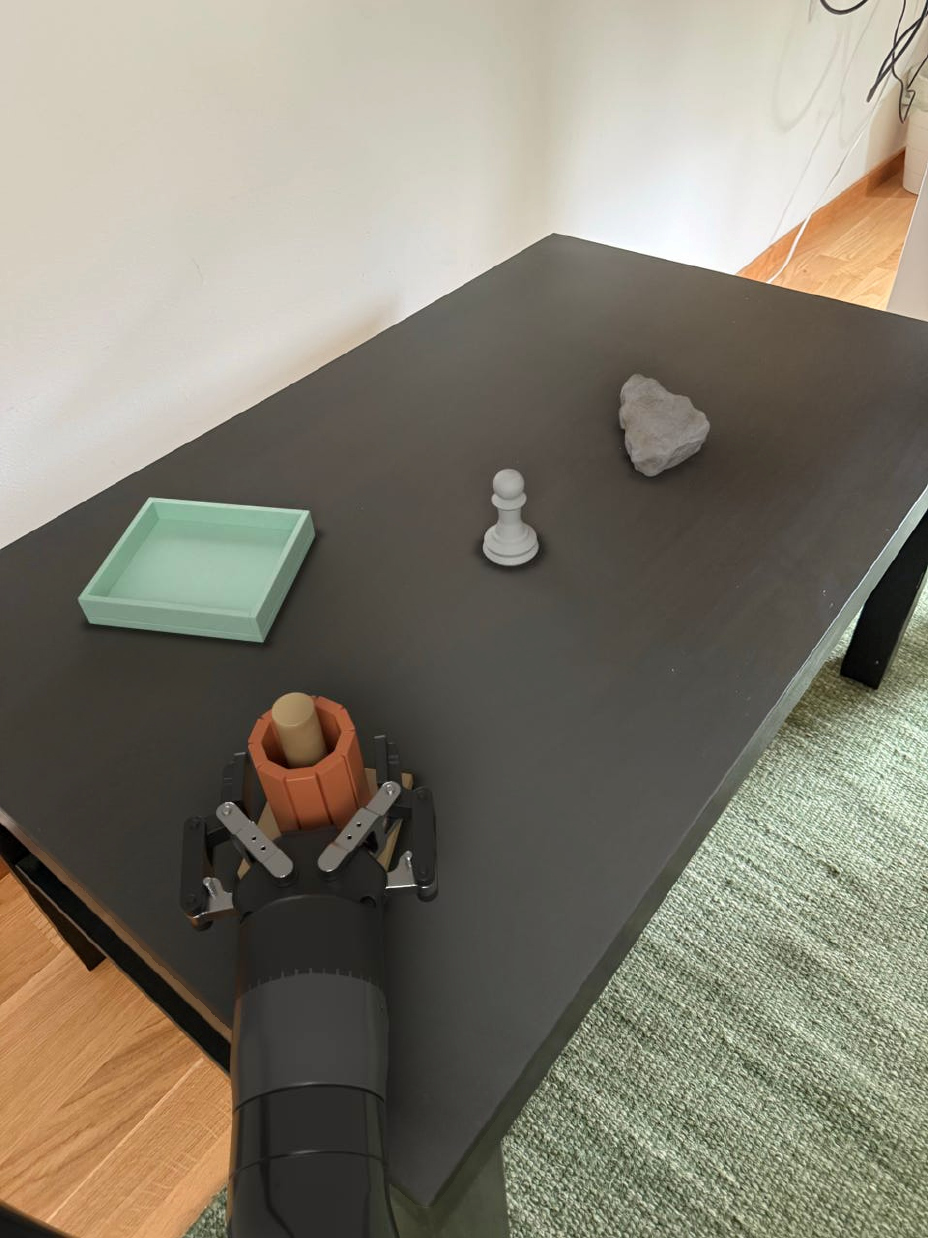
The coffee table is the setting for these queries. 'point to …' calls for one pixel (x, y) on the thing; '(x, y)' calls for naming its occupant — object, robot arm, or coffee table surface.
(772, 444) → the coffee table surface
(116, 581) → the tray
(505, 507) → the chess piece
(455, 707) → the coffee table surface
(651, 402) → the stone
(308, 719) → the peg stand
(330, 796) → the ring collar
